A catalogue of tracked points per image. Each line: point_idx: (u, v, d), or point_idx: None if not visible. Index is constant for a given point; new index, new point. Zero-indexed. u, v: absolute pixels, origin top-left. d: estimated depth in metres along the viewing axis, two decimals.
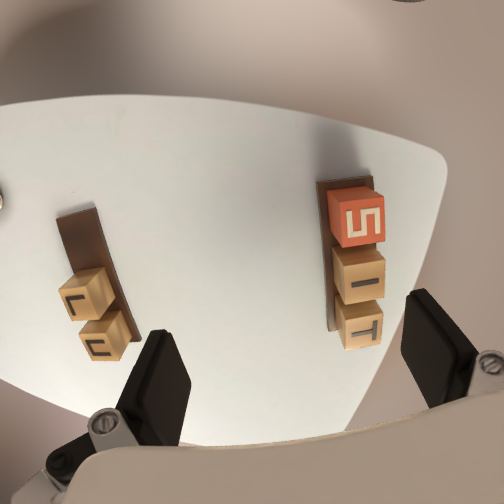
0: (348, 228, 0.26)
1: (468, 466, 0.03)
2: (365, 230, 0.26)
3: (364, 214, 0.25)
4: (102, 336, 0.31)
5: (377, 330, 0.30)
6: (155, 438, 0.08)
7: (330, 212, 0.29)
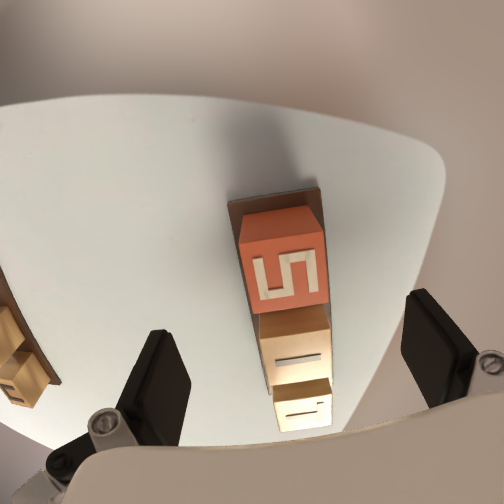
0: (259, 286, 0.16)
1: (468, 466, 0.03)
2: (290, 287, 0.16)
3: (287, 261, 0.15)
4: (10, 382, 0.21)
5: (324, 412, 0.20)
6: (155, 438, 0.08)
7: None
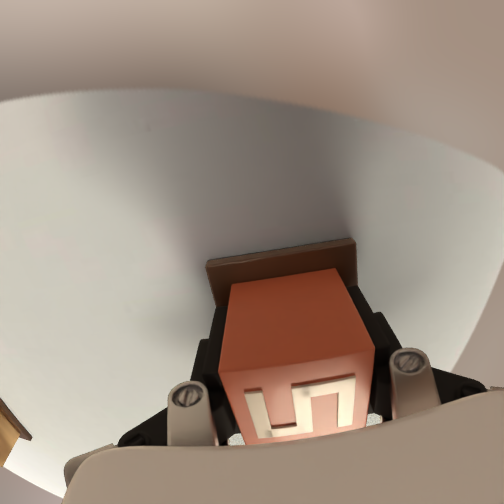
0: (256, 422, 0.08)
1: (468, 466, 0.03)
2: (308, 424, 0.08)
3: (306, 395, 0.08)
4: None
5: None
6: (231, 410, 0.09)
7: None
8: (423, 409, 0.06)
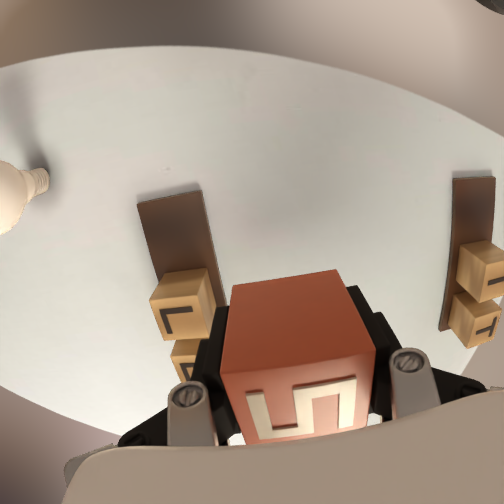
0: (258, 424, 0.08)
1: (468, 466, 0.03)
2: (309, 425, 0.08)
3: (307, 396, 0.08)
4: None
5: (494, 326, 0.25)
6: (231, 410, 0.09)
7: None
8: (423, 409, 0.06)
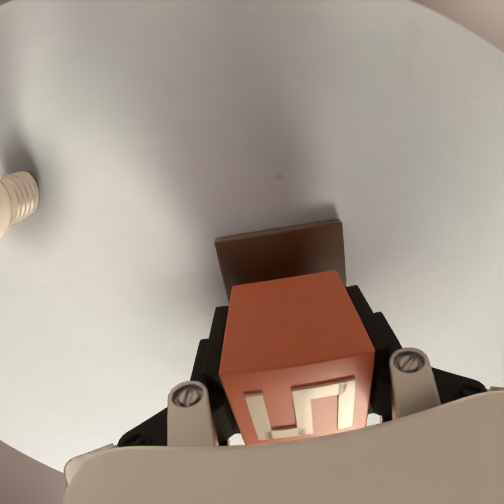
0: (257, 425, 0.08)
1: (468, 466, 0.03)
2: (308, 426, 0.08)
3: (306, 396, 0.08)
4: None
5: None
6: (231, 410, 0.09)
7: None
8: (423, 409, 0.06)
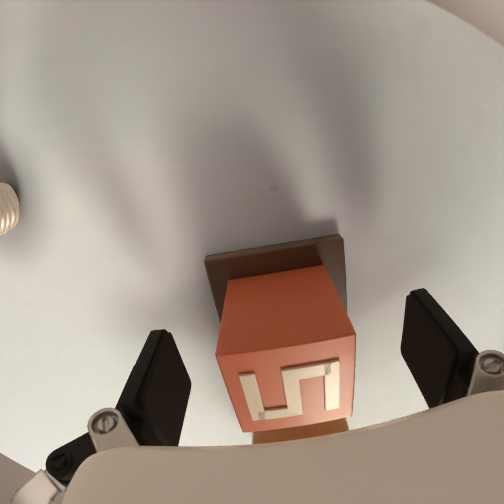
0: (251, 405, 0.10)
1: (468, 466, 0.03)
2: (298, 407, 0.09)
3: (295, 377, 0.09)
4: None
5: None
6: (155, 438, 0.08)
7: None
8: None
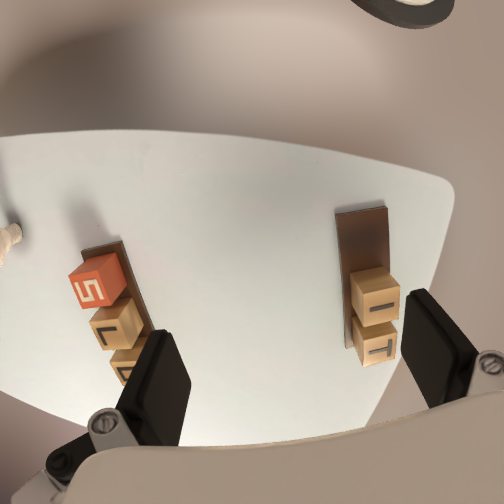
0: (80, 295, 0.30)
1: (468, 466, 0.03)
2: (91, 296, 0.29)
3: (87, 284, 0.29)
4: (134, 363, 0.33)
5: (392, 347, 0.32)
6: (155, 438, 0.08)
7: None
8: None
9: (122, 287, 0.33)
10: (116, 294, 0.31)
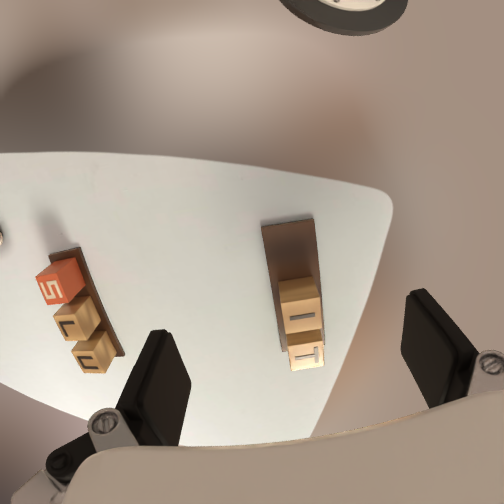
0: (45, 293, 0.33)
1: (468, 466, 0.03)
2: (53, 294, 0.33)
3: (49, 284, 0.32)
4: (90, 353, 0.36)
5: (319, 355, 0.35)
6: (155, 438, 0.08)
7: None
8: None
9: (80, 287, 0.36)
10: (74, 293, 0.35)
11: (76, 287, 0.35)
